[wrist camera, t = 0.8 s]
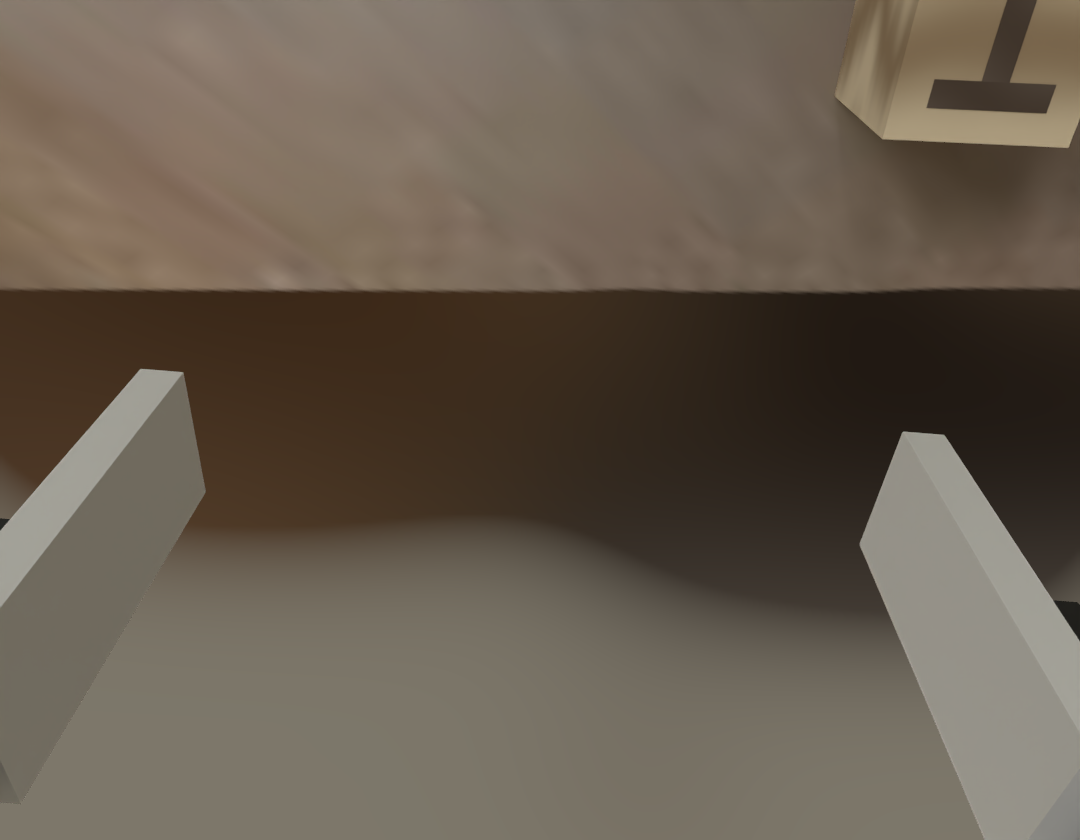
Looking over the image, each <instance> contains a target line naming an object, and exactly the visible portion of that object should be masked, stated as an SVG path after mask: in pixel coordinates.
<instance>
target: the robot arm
mask: <svg viewBox="0 0 1080 840" xmlns="http://www.w3.org/2000/svg"><path fill="white" fill-rule="evenodd" d="M205 492H206V491H205V486H204V481H203V475H202V470H201V464H200V459H199V454H198V449H197V443H196V438H195V432H194V427H193V422H192V416H191V411H190V406H189V400H188V395H187V389H186V385H185V379H184V373H183V372H172V371H160V370H148V369H140V370H139V372H138V373H137V374H136V375H135V376H134V377H133V378H132V380H131V381H130V382H129V383H128V384H127V385H126V387H125V388H124V389H123V390H122V391H121V392H120V394H119V395H118V396H117V397H116V398H115V399H114V400H113V401H112V403H111V404H110V405H109V406H108V407H107V408H106V410H105V411H104V412H103V413H102V414H101V415H100V416H99V418H98V419H97V420H96V421H95V422H94V423H93V425H92V426H91V427H90V428H89V429H88V430H87V432H86V433H85V434H84V435H83V436H82V437H81V438H80V440H79V441H78V442H77V443H76V444H75V445H74V446H73V448H72V449H71V450H70V451H69V452H68V454H67V455H66V456H65V457H64V458H63V459H62V460H61V461H60V463H59V464H58V465H57V466H56V467H55V468H54V469H53V471H52V472H51V473H50V474H49V475H48V476H47V477H46V479H45V480H44V481H43V482H42V483H41V484H40V486H39V487H38V488H37V489H36V490H35V491H34V492H33V494H32V495H31V496H30V497H29V498H28V499H27V501H26V502H25V503H24V504H23V505H22V507H20V509H19V510H18V511H17V512H16V513H15V514H14V515H13V517H12V518H11V519H0V802H1V803H14V804H21V802H22V801H23V799H24V798H25V796H26V794H27V793H28V791H29V789H30V788H31V786H32V784H33V782H34V781H35V779H36V777H37V776H38V774H39V772H40V771H41V769H42V767H43V765H44V764H45V762H46V760H47V759H48V757H49V755H50V754H51V752H52V750H53V749H54V747H55V745H56V743H57V742H58V740H59V739H60V737H61V735H62V733H63V732H64V730H65V728H66V727H67V725H68V723H69V722H70V720H71V718H72V717H73V715H74V713H75V711H76V710H77V708H78V706H79V705H80V703H81V701H82V700H83V698H84V696H85V695H86V693H87V691H88V690H89V688H90V686H91V685H92V683H93V681H94V679H95V678H96V676H97V674H98V673H99V671H100V669H101V668H102V666H103V664H104V663H105V661H106V659H107V657H108V656H109V654H110V652H111V651H112V649H113V647H114V646H115V644H116V642H117V640H118V639H119V637H120V635H121V634H122V632H123V630H124V629H125V627H126V625H127V624H128V622H129V620H130V619H131V617H132V615H133V614H134V612H135V610H136V609H137V607H138V605H139V603H140V602H141V600H142V598H143V597H144V595H145V593H146V592H147V590H148V588H149V587H150V585H151V583H152V581H153V580H154V578H155V576H156V575H157V573H158V571H159V570H160V568H161V566H162V565H163V563H164V561H165V559H166V558H167V556H168V555H169V553H170V551H171V549H172V548H173V546H174V544H175V543H176V541H177V539H178V538H179V536H180V534H181V533H182V531H183V529H184V527H185V526H186V524H187V522H188V521H189V519H190V517H191V516H192V514H193V512H194V511H195V509H196V507H197V506H198V504H199V502H200V500H201V499H202V497H203V495H204V494H205ZM860 547H861V549H862V551H863V554H864V556H865V558H866V561H867V563H868V566H869V568H870V570H871V573H872V575H873V577H874V580H875V582H876V585H877V587H878V589H879V592H880V594H881V596H882V599H883V601H884V603H885V606H886V608H887V610H888V613H889V615H890V618H891V620H892V622H893V625H894V627H895V629H896V632H897V634H898V636H899V639H900V641H901V643H902V646H903V648H904V651H905V653H906V655H907V658H908V660H909V662H910V665H911V667H912V669H913V672H914V674H915V676H916V679H917V681H918V684H919V686H920V688H921V691H922V693H923V695H924V698H925V700H926V702H927V705H928V706H929V709H930V712H931V714H932V717H933V719H934V721H935V724H936V726H937V728H938V730H939V733H940V735H941V738H942V740H943V743H944V745H945V747H946V750H947V751H948V754H949V756H950V759H951V761H952V764H953V766H954V768H955V771H956V773H957V776H958V778H959V780H960V783H961V785H962V787H963V790H964V792H965V794H966V797H967V799H968V801H969V804H970V806H971V809H972V811H973V813H974V816H975V818H976V820H977V823H978V825H979V827H980V830H981V832H982V834H983V837H984V839H985V840H1080V605H1079V604H1078V603H1077V602H1066V601H1054V600H1052V598H1051V597H1050V595H1049V594H1048V592H1047V591H1046V589H1045V588H1044V586H1043V585H1042V583H1041V582H1040V580H1039V579H1038V577H1037V575H1036V574H1035V572H1034V571H1033V569H1032V568H1031V567H1030V565H1029V563H1028V562H1027V560H1026V559H1025V557H1024V556H1023V554H1022V553H1021V551H1020V550H1019V548H1018V547H1017V545H1016V544H1015V542H1014V540H1013V539H1012V537H1011V536H1010V534H1009V533H1008V531H1007V530H1006V529H1005V527H1004V525H1003V524H1002V522H1001V521H1000V519H999V518H998V516H997V515H996V513H995V511H994V510H993V509H992V507H991V505H990V504H989V502H988V501H987V499H986V498H985V496H984V495H983V493H982V492H981V490H980V489H979V487H978V486H977V484H976V483H975V481H974V480H973V478H972V476H971V475H970V474H969V472H968V470H967V469H966V467H965V466H964V464H963V463H962V461H961V460H960V458H959V457H958V455H957V454H956V453H955V451H954V449H953V448H952V446H951V444H950V443H949V441H948V440H947V438H946V437H945V436H944V435H938V434H937V435H936V434H925V433H913V432H903V433H902V435H901V438H900V440H899V443H898V446H897V448H896V451H895V453H894V456H893V459H892V461H891V464H890V466H889V469H888V472H887V474H886V477H885V479H884V482H883V485H882V487H881V490H880V492H879V495H878V498H877V500H876V503H875V505H874V508H873V511H872V513H871V516H870V518H869V521H868V524H867V526H866V529H865V531H864V534H863V537H862V539H861V542H860Z"/></svg>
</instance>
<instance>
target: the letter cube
mask: <svg viewBox="0 0 1080 840" xmlns="http://www.w3.org/2000/svg"><path fill="white" fill-rule="evenodd" d="M835 97H836V98H837V99H838V100H839V101H840V102H842V103H843V104H844V105H845V106H846V107H847V108H848V109H849V110H850V111H852V112H853V113H854V114H855V115H856V116H857V117H858V118H859V119H860V120H862V121H863V122H864V123H865V124H866V125H867V126H868V127H869V128H871V129H872V130H873V131H874V132H875V133H876V134H877V135H878V136H879V137H881V138H882V139H888V140H910V141H931V142H953V143H974V144H996V145H1017V146H1039V147H1060V148H1069V145H1070V143H1071V140H1072V137H1073V135H1074V132H1075V130H1076V127H1077V125H1078V122H1079V119H1080V0H856V3H855V7H854V12H853V16H852V21H851V25H850V30H849V34H848V38H847V43H846V47H845V52H844V56H843V61H842V65H841V70H840V74H839V79H838V83H837V88H836V92H835Z"/></svg>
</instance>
